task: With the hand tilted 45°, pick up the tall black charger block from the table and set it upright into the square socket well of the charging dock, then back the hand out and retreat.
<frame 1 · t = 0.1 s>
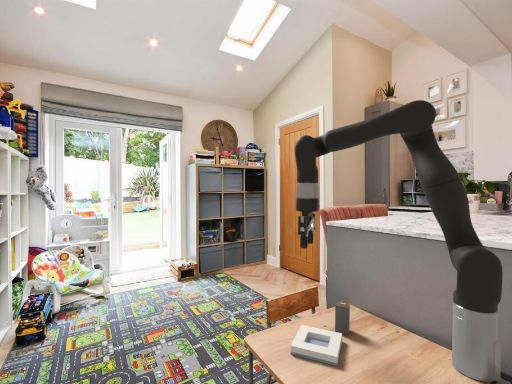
hand: (307, 245, 89), 29 cm above the table, tool pointing down, fingers open, 8 cm apart
charger: (342, 331, 90), on the table
dock: (317, 347, 81), on the table
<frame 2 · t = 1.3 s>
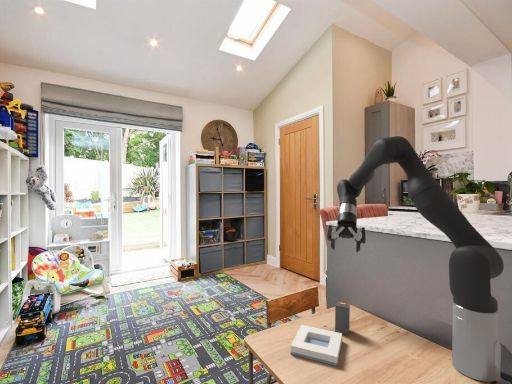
hand: (345, 250, 101), 25 cm above the table, tool tilted 45°, fingers open, 8 cm apart
nothing on the table moved.
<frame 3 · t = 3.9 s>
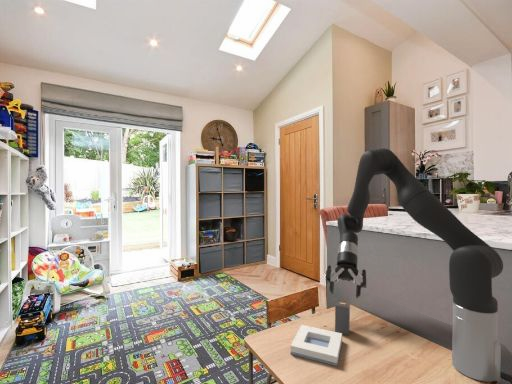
hand: (344, 295, 95), 10 cm above the table, tool tilted 45°, fingers open, 8 cm apart
nothing on the table moved.
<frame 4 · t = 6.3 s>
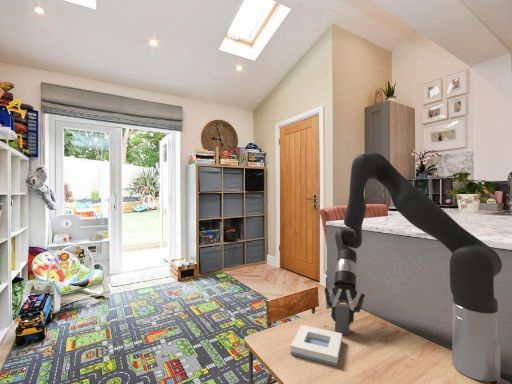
hand: (342, 321, 88), 4 cm above the table, tool tilted 45°, fingers closed on charger, 4 cm apart
charger: (342, 331, 90), on the table, touching gripper
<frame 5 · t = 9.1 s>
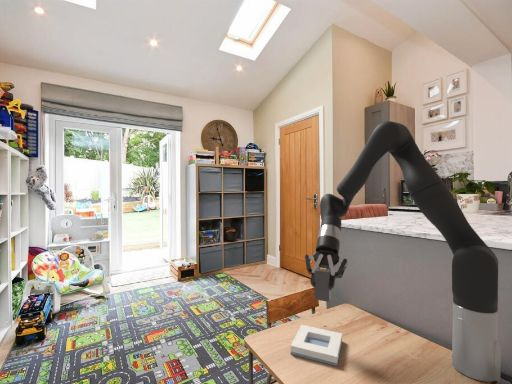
hand: (321, 287, 81), 18 cm above the table, tool tilted 45°, fingers closed on charger, 4 cm apart
charger: (322, 298, 83), point 14 cm above the table, touching gripper
when the fingers open (7 cm above the table, at t = 11.9 s): charger drops 2 cm, resting on dock.
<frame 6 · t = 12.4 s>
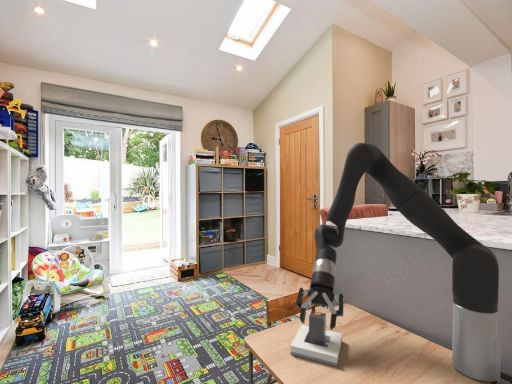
hand: (316, 325, 79), 7 cm above the table, tool tilted 45°, fingers open, 8 cm apart
charger: (317, 344, 81), point 1 cm above the table, touching dock
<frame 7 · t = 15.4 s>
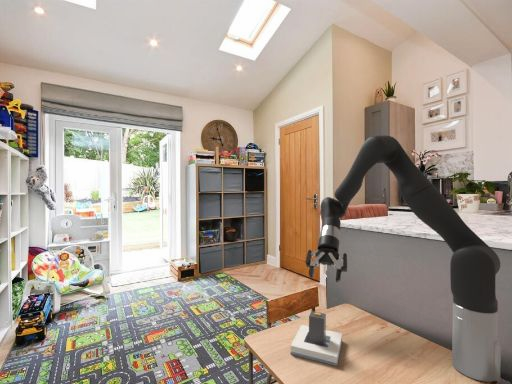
hand: (324, 279, 91), 17 cm above the table, tool tilted 45°, fingers open, 8 cm apart
nothing on the table moved.
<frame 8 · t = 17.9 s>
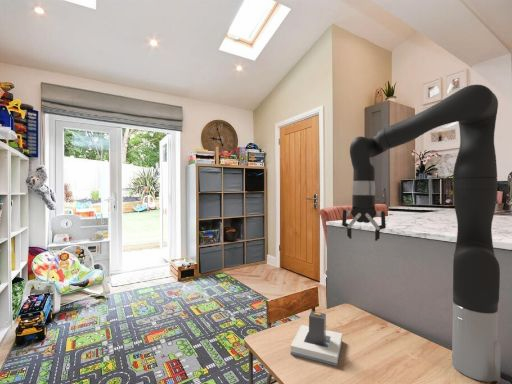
hand: (363, 239, 95), 30 cm above the table, tool pointing down, fingers open, 8 cm apart
nothing on the table moved.
at the end: charger 0.1 cm off-centre on the dock, point 0.8 cm above the dock's base; charger tilted 0°; the gripper is holding nothing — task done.
